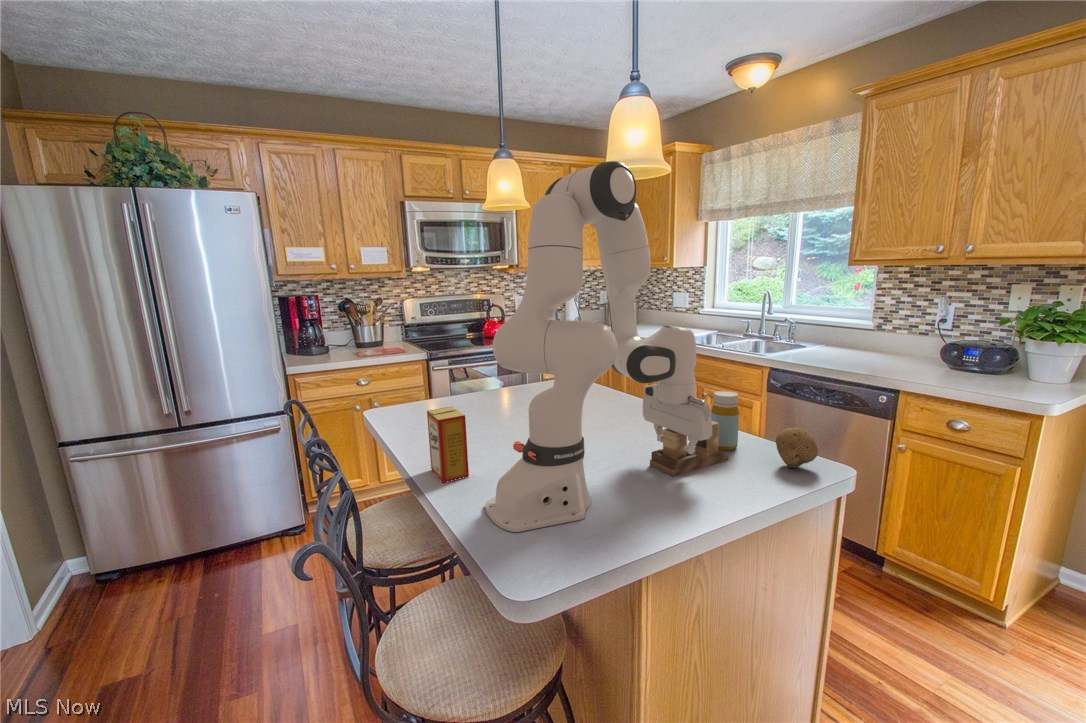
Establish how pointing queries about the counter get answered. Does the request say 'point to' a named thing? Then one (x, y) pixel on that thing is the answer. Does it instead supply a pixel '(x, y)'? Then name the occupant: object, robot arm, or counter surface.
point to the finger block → (674, 444)
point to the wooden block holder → (691, 456)
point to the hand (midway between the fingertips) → (674, 447)
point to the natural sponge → (796, 447)
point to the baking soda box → (448, 443)
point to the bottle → (726, 418)
